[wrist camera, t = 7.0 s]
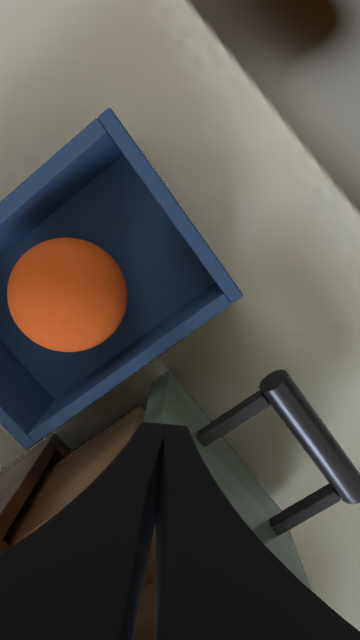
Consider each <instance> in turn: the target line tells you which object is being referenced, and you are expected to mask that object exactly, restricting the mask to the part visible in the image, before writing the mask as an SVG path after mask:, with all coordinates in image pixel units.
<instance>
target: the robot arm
mask: <svg viewBox="0 0 360 640" xmlns="http://www.w3.org/2000/svg"><path fill="white" fill-rule="evenodd" d="M155 522H156V529H155V639H154V640H360V631H358V630H357V629H356V628H355V627H353V626H352V625H351V624H349V623H348V622H347V621H346V620H344V619H343V618H342V617H341V616H340V615H338V614H337V613H336V612H335V611H334V610H333V609H331V608H330V607H329V606H328V605H327V604H326V603H325V602H324V601H322V600H321V599H320V598H319V597H318V596H317V595H316V594H314V593H313V592H312V591H311V590H310V589H309V588H308V587H307V586H305V585H304V584H303V583H302V582H301V581H300V580H299V579H298V578H297V577H296V576H295V575H294V574H293V573H292V572H291V571H290V570H289V569H288V568H287V567H286V566H285V565H284V564H283V563H282V562H281V561H280V560H279V559H278V558H277V557H276V556H275V555H274V554H273V553H272V552H271V551H270V550H269V549H268V548H267V547H266V546H265V545H264V544H263V542H262V541H261V540H260V539H259V538H258V537H257V536H256V535H255V533H254V532H253V531H252V530H251V529H250V527H249V526H248V525H247V524H246V522H245V521H244V520H243V519H242V518H241V516H240V515H239V514H238V512H237V511H236V510H235V508H234V507H233V506H232V504H231V503H230V502H229V500H228V499H227V497H226V496H225V494H224V493H223V491H222V490H221V488H220V487H219V485H218V484H217V482H216V481H215V479H214V478H213V476H212V474H211V472H210V471H209V469H208V467H207V466H206V464H205V462H204V460H203V458H202V457H201V455H200V453H199V451H198V449H197V447H196V445H195V442H194V440H193V438H192V435H191V433H190V430H189V429H188V427H187V426H184V425H172V424H161V423H150V422H143V423H141V424H140V425H139V426H138V428H137V430H136V431H135V433H134V434H133V435H132V437H131V438H130V440H129V441H128V442H127V443H126V445H125V446H124V447H123V449H122V450H121V451H120V452H119V453H118V454H117V456H116V457H115V458H114V459H113V460H112V462H111V463H110V464H109V465H108V466H107V467H106V468H105V469H104V470H103V471H102V472H101V473H100V474H99V475H98V476H97V477H96V478H95V479H94V480H93V481H92V482H91V484H90V485H89V486H87V487H86V488H85V489H84V490H83V491H82V492H81V493H80V494H79V495H78V496H77V497H76V498H74V499H73V500H72V501H71V502H70V503H69V504H68V505H66V506H65V507H64V508H63V509H62V510H60V511H59V512H58V513H57V514H56V515H54V516H53V517H52V518H50V519H49V520H48V521H46V522H45V523H44V524H43V525H41V526H40V527H39V528H37V529H36V530H35V531H33V532H32V533H31V534H29V535H28V536H26V537H25V538H24V539H22V540H21V541H19V542H18V543H17V544H15V545H14V546H12V547H11V548H9V549H8V550H6V551H4V552H3V553H1V554H0V640H134V635H135V629H136V622H137V616H138V611H139V605H140V600H141V595H142V590H143V585H144V579H145V574H146V569H147V564H148V559H149V554H150V548H151V543H152V538H153V533H154V527H155Z"/></svg>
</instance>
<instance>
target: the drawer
mask: <svg viewBox="0 0 360 640" xmlns="http://www.w3.org/2000/svg"><path fill="white" fill-rule="evenodd" d="M259 389H260V391H258V392H256V393H255V394H253V395H252V396H250V397H249V398H247V399H246V400H244V401H243V402H241V403H240V404H238V405H237V406H235V407H234V408H232V409H230V410H229V411H227V412H226V413H224V414H223V415H221V416H220V417H218V418H217V419H215V420H214V421H212V422H210V421H209V419H208V418H207V417H206V416H205V414H204V413H203V412H202V411H201V409H200V408H199V407H198V406H197V404H196V403H195V402H194V401H193V399H192V398H191V397H190V396H189V394H188V393H187V392H186V391H185V389H184V388H183V387H182V386H181V384H180V383H179V382H178V381H177V379H176V378H175V377H174V376H173V374H172V373H171V372H170V371H167V372H166V373H164V374H163V375H161V376H160V377H159V378H157V379H156V380H154V381H153V382H152V384H151V389H150V393H149V398H148V402H147V407H146V412H145V411H144V409H143V408H142V407H141V406H138V407H137V408H135V409H134V410H133V411H131V412H130V413H128V414H127V415H125V416H124V417H122V418H121V419H120V420H118V421H117V422H115V423H114V424H112V425H111V426H109V427H108V428H107V429H105V430H104V431H102V432H101V433H99V434H98V435H96V436H95V437H94V438H92V439H91V440H89V441H88V442H86V443H85V444H83V445H82V446H81V447H79V448H78V449H76V450H75V451H73V452H72V453H70V454H69V455H68V456H66V457H65V458H63V459H62V460H60V461H59V462H57V463H56V464H55V465H53V466H52V467H50V468H49V469H47V470H46V471H44V472H43V473H42V475H41V476H40V478H39V480H38V481H37V483H36V485H35V486H34V488H33V490H32V491H31V493H30V495H29V496H28V498H27V500H26V501H25V503H24V504H23V506H22V508H21V509H20V511H19V513H18V514H17V516H16V518H15V519H14V521H13V523H12V524H11V526H10V528H9V529H8V531H7V533H6V534H5V536H4V538H3V540H4V541H5V542H6V543H7V544H8V545H9V546H10V547H12V546H14V545H15V544H17V543H18V542H19V541H21V540H22V539H24V538H25V537H26V536H28V535H29V534H31V533H32V532H33V531H35V530H36V529H37V528H39V527H40V526H41V525H43V524H44V523H45V522H46V521H48V520H49V519H50V518H52V517H53V516H54V515H56V514H57V513H58V512H59V511H60V510H62V509H63V508H64V507H65V506H66V505H68V504H69V503H70V502H71V501H72V500H73V499H74V498H76V497H77V496H78V495H79V494H80V493H81V492H82V491H83V490H84V489H85V488H86V487H87V486H89V485H90V484H91V482H92V481H93V480H94V479H95V478H96V477H97V476H98V475H99V474H100V473H101V472H102V471H103V470H104V469H105V468H106V467H107V466H108V465H109V464H110V463H111V462H112V460H113V459H114V458H115V457H116V456H117V454H118V453H119V452H120V451H121V450H122V449H123V447H124V446H125V445H126V443H127V442H128V441H129V440H130V438H131V437H132V435H133V434H134V433H135V431H136V430H137V428H138V426H139V425H140V424H141V423H143V422H150V423H161V424H172V425H184V426H187V427H188V429H189V430H190V433H191V435H192V438H193V440H194V442H195V445H196V447H197V449H198V451H199V453H200V455H201V457H202V458H203V460H204V462H205V464H206V466H207V467H208V469H209V471H210V472H211V474H212V476H213V478H214V479H215V481H216V482H217V484H218V485H219V487H220V488H221V490H222V491H223V493H224V494H225V496H226V497H227V499H228V500H229V502H230V503H231V504H232V506H233V507H234V508H235V510H236V511H237V512H238V514H239V515H240V516H241V518H242V519H243V520H244V521H245V522H246V524H247V525H248V526H249V527H250V529H251V530H252V531H253V532H254V533H255V535H256V536H257V537H258V538H259V539H260V540H261V541H262V542H263V544H264V545H265V546H266V547H267V548H268V549H269V550H270V551H271V552H272V553H273V554H274V555H275V556H276V557H277V558H278V559H279V560H280V561H281V562H282V563H283V564H284V565H285V566H286V567H287V568H288V569H289V570H290V571H291V572H292V573H293V574H294V575H295V576H296V577H297V578H298V579H299V580H300V581H301V582H302V583H303V584H304V585H305V586H307V587H308V588H309V589H310V590H311V588H310V585H309V583H308V580H307V577H306V574H305V572H304V569H303V566H302V563H301V561H300V558H299V555H298V552H297V550H296V547H295V544H294V541H293V539H292V536H291V533H290V529H292V528H293V527H295V526H297V525H298V524H300V523H302V522H304V521H305V520H307V519H309V518H311V517H312V516H314V515H316V514H318V513H319V512H321V511H323V510H325V509H326V508H328V507H330V506H332V505H333V504H335V503H337V502H338V501H340V500H341V499H342V500H343V501H344V502H346V503H348V504H357V503H360V473H359V472H358V470H357V469H356V467H355V466H354V465H353V463H352V462H351V460H350V459H349V458H348V456H347V455H346V454H345V452H344V451H343V449H342V448H341V447H340V445H339V444H338V442H337V441H336V440H335V438H334V437H333V435H332V434H331V433H330V431H329V430H328V428H327V427H326V426H325V424H324V423H323V422H322V420H321V419H320V417H319V416H318V415H317V413H316V412H315V410H314V409H313V408H312V406H311V405H310V403H309V402H308V401H307V399H306V398H305V396H304V395H303V394H302V392H301V391H300V390H299V388H298V387H297V385H296V384H295V383H294V381H293V380H292V378H291V377H290V376H289V374H288V373H287V372H286V371H285V370H276V371H274V372H272V373H270V374H268V375H267V376H266V377H265V378H264V379H263V380H262V381H261V382H260V385H259ZM269 403H270V404H271V406H272V407H273V408H274V410H275V411H276V412H277V414H278V415H279V416H280V418H281V419H282V420H283V422H284V423H285V424H286V426H287V427H288V428H289V430H290V431H291V432H292V434H293V435H294V436H295V438H296V439H297V440H298V442H299V443H300V444H301V446H302V447H303V448H304V450H305V451H306V452H307V454H308V455H309V456H310V458H311V459H312V460H313V462H314V463H315V465H316V466H317V467H318V469H319V470H320V471H321V473H322V474H323V475H324V477H325V478H326V479H327V481H328V482H329V483H330V484H328V485H326V486H324V487H322V488H321V489H319V490H317V491H316V492H314V493H312V494H310V495H309V496H307V497H305V498H304V499H302V500H300V501H299V502H297V503H295V504H293V505H292V506H290V507H288V508H287V509H285V510H283V511H282V510H281V509H280V508H279V507H278V505H277V504H276V503H275V502H274V500H273V499H272V498H271V497H270V495H269V494H268V493H267V492H266V490H265V489H264V488H263V487H262V485H261V484H260V483H259V482H258V480H257V479H256V478H255V477H254V475H253V474H252V473H251V472H250V470H249V469H248V468H247V467H246V465H245V464H244V463H243V462H242V460H241V459H240V458H239V457H238V455H237V454H236V453H235V452H234V450H233V449H232V448H231V447H230V445H229V444H228V443H227V442H226V440H225V439H224V438H223V437H222V436H223V435H225V434H226V433H228V432H229V431H231V430H232V429H234V428H235V427H237V426H239V425H240V424H242V423H243V422H245V421H246V420H248V419H249V418H251V417H253V416H254V415H256V414H257V413H259V412H260V411H262V410H263V409H265V408H266V407H268V406H269V405H270V404H269ZM340 498H341V499H340ZM155 529H156V522H155V527H154V533H153V538H152V543H151V548H150V554H149V559H148V564H147V569H146V574H145V579H144V585H143V590H142V595H141V600H140V605H139V611H138V616H137V622H136V629H135V635H134V640H154V639H155Z"/></svg>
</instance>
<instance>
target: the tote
mask: <svg viewBox="0 0 360 640" xmlns="http://www.w3.org/2000/svg"><path fill="white" fill-rule="evenodd" d="M63 237H68V238H77V239H82V240H85V241H88V242H91V243H93V244H95V245H97V246H99V247H100V248H102V249H103V250H104V251H106V252H107V253H108V254H109V255H110V256H111V257H112V258H113V259H114V260H115V262H116V263H117V264H118V266H119V268H120V269H121V271H122V273H123V276H124V278H125V282H126V286H127V307H126V311H125V314H124V316H123V319H122V321H121V323H120V324H119V326H118V328H117V329H116V330H115V331H114V333H113V334H112V335H110V336H109V337H108V338H107V339H106V340H105V341H103V342H102V343H100V344H98V345H96V346H95V347H92V348H89V349H87V350H83V351H78V352H60V351H54V350H51V349H48V348H45V347H43V346H41V345H39V344H37V343H35V342H34V341H32V340H31V339H29V338H28V337H27V336H26V335H25V334H24V333H23V332H22V331H21V330H20V329H19V327H18V326H17V324H16V323H15V321H14V319H13V317H12V315H11V312H10V310H9V306H8V299H7V288H8V281H9V278H10V275H11V272H12V270H13V268H14V266H15V265H16V263H17V262H18V260H19V259H20V258H21V257H22V256H23V255H24V253H26V252H27V251H28V250H29V249H31V248H32V247H34V246H36V245H37V244H39V243H41V242H44V241H46V240H50V239H55V238H63ZM242 296H243V294H242V292H241V291H240V290H239V288H238V287H237V285H236V284H235V283H234V281H233V280H232V278H231V277H230V275H229V274H228V273H227V271H226V270H225V268H224V267H223V266H222V264H221V263H220V261H219V260H218V259H217V257H216V256H215V254H214V253H213V252H212V250H211V249H210V247H209V246H208V245H207V243H206V242H205V240H204V239H203V237H202V236H201V235H200V233H199V232H198V230H197V229H196V228H195V226H194V225H193V223H192V222H191V221H190V219H189V218H188V216H187V215H186V214H185V212H184V211H183V209H182V208H181V207H180V205H179V204H178V202H177V201H176V200H175V198H174V197H173V195H172V194H171V192H170V191H169V190H168V188H167V187H166V185H165V184H164V183H163V181H162V180H161V178H160V177H159V176H158V174H157V173H156V171H155V170H154V169H153V167H152V166H151V164H150V163H149V162H148V160H147V159H146V157H145V156H144V154H143V153H142V152H141V150H140V149H139V147H138V146H137V145H136V143H135V142H134V140H133V139H132V138H131V136H130V135H129V133H128V132H127V131H126V129H125V128H124V126H123V125H122V124H121V122H120V121H119V119H118V118H117V116H116V115H115V114H114V112H113V111H112V109H111V108H108V109H107V110H106V111H104V112H103V113H102V114H101V115H100V116H99V117H98V119H95V120H94V121H93V122H92V123H90V124H89V125H88V126H87V127H86V128H85V129H84V130H82V131H81V132H80V133H79V134H78V135H77V136H76V137H74V138H73V139H72V140H71V141H70V142H69V143H68V144H66V145H65V146H64V147H63V148H62V149H61V150H59V151H58V152H57V153H56V154H55V155H54V156H53V157H51V158H50V159H49V160H48V161H47V162H46V163H45V164H43V165H42V166H41V167H40V168H39V169H38V170H37V171H35V172H34V173H33V174H32V175H31V176H30V177H29V178H27V179H26V180H25V181H24V182H23V183H22V184H21V185H19V186H18V187H17V188H16V189H15V190H14V191H13V192H11V193H10V194H9V195H8V196H7V197H6V198H5V199H3V200H2V201H1V202H0V423H1V424H2V425H3V426H4V428H5V429H6V430H7V431H8V432H9V433H10V434H11V435H12V436H13V437H14V438H15V439H16V440H17V441H18V442H19V443H20V444H21V445H22V446H23V447H24V448H25V449H26V450H27V449H29V448H30V447H32V446H33V445H35V444H36V443H37V442H39V441H40V440H42V439H43V438H44V437H46V436H47V435H49V434H50V433H51V432H53V431H54V430H56V429H57V428H58V427H60V426H61V425H63V424H64V423H65V422H67V421H68V420H70V419H71V418H72V417H74V416H75V415H77V414H78V413H79V412H81V411H82V410H84V409H85V408H86V407H88V406H89V405H91V404H92V403H94V402H95V401H96V400H98V399H99V398H101V397H102V396H103V395H105V394H106V393H108V392H109V391H110V390H112V389H113V388H115V387H116V386H117V385H119V384H120V383H122V382H123V381H124V380H126V379H127V378H129V377H130V376H131V375H133V374H134V373H136V372H137V371H138V370H140V369H141V368H143V367H144V366H145V365H147V364H148V363H150V362H151V361H152V360H154V359H155V358H157V357H158V356H160V355H161V354H162V353H164V352H165V351H167V350H168V349H169V348H171V347H172V346H174V345H175V344H176V343H178V342H179V341H181V340H182V339H183V338H185V337H186V336H188V335H189V334H190V333H192V332H193V331H195V330H196V329H197V328H199V327H200V326H202V325H203V324H204V323H206V322H207V321H209V320H210V319H211V318H213V317H214V316H216V315H217V314H218V313H220V312H221V311H223V310H224V309H225V308H227V307H228V306H230V305H231V303H234V302H235V301H237V300H238V299H240V298H241V297H242Z"/></svg>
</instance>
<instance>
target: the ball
mask: <svg viewBox="0 0 360 640" xmlns="http://www.w3.org/2000/svg"><path fill="white" fill-rule="evenodd" d="M7 299H8V306H9V310H10V312H11V315H12V317H13V319H14V321H15V323H16V324H17V326H18V327H19V329H20V330H21V331H22V332H23V333H24V334H25V335H26V336H27V337H28V338H29V339H31V340H32V341H34V342H35V343H37V344H39V345H41V346H43V347H45V348H48V349H51V350H54V351H60V352H78V351H83V350H87V349H89V348H92V347H95V346H96V345H98V344H100V343H102V342H103V341H105V340H106V339H107V338H108V337H109V336H110V335H112V334H113V333H114V331H115V330H116V329H117V328H118V326H119V324H120V323H121V321H122V319H123V316H124V314H125V311H126V307H127V286H126V282H125V278H124V276H123V273H122V271H121V269H120V268H119V266H118V264H117V263H116V262H115V260H114V259H113V258H112V257H111V256H110V255H109V254H108V253H107V252H106V251H104V250H103V249H102V248H100V247H99V246H97V245H95V244H93V243H91V242H88V241H85V240H82V239H77V238H68V237H63V238H55V239H50V240H46V241H44V242H41V243H39V244H37V245H36V246H34V247H32V248H31V249H29V250H28V251H27V252H26V253H24V255H23V256H22V257H21V258H20V259H19V260H18V262H17V263H16V265H15V266H14V268H13V270H12V272H11V275H10V278H9V281H8V288H7Z"/></svg>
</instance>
